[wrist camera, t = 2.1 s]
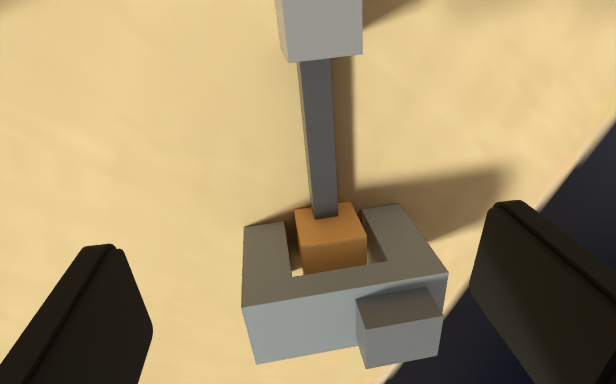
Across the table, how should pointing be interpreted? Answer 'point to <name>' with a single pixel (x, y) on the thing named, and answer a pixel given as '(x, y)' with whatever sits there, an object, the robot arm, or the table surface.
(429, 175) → the table surface
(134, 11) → the table surface
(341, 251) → the cube-ended rod
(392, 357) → the housing
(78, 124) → the table surface
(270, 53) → the table surface
